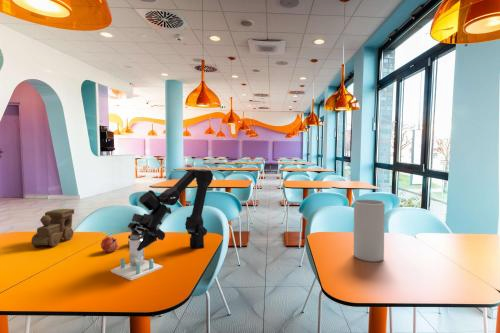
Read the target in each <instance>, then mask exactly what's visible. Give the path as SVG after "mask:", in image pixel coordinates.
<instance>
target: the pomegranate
mask: <svg viewBox="0 0 500 333" xmlns="http://www.w3.org/2000/svg"><path fill="white" fill-rule="evenodd" d="M118 247H119V242H118V240H117V239H116V238H115V237H110V236H107V237H105V238H103V239H102V240H101V243H100V248H101V249H102V251H103V252H105V253H112V252H114V251H116V250H117V249H118Z"/></svg>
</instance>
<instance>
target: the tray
mask: <svg viewBox="0 0 500 333" xmlns="http://www.w3.org/2000/svg"><path fill="white" fill-rule="evenodd" d="M125 260H126V258H125V257H123V258H120V266H118V267H115V268H113V269H111V270H110V272H111V273H112V274H114V275H118V276H119V277H122V278H123V279H126V280H128V281H133V280H136V279H139V278H141V277H143V276H146V275H148V274H150V273H153V272H156V271H157V270H160V269H163V265H161V264H158V263H155V262H154V259H153V258H149V260H146V259H144V264H143V265H142V266H140V264H136V267H131V266H130V262H129V263H126V261H125Z"/></svg>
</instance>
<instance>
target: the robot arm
mask: <svg viewBox="0 0 500 333" xmlns="http://www.w3.org/2000/svg"><path fill="white" fill-rule="evenodd" d="M213 178H214V173H213V172H212V170H208V169H200V170H198V169H188V170H187V172H186V173H185V174H184V175H183V176H181V178H180V179H178V181H177V182H176V183H175V184H174V185H173V186H172V187H171V186H170V187H169V188H167V189H165V190H164V191H162V192H161V193H160V194H159V195H157V194H156V192H155V191H153V190H152V189H151V190H150V189H149V190H148V191H147V192H145V193H143V194H142V195H141V196H139V199H138V201H139V203H140V204H141V205H142V206H143V207H144V208H145V209H146V210H148V211H151V212H150V213H143V214H138V213H133V216H132V219H131V222H129V223H128V225H127V228H128V229H130V230H131V232H132V233H131V234H137V233H140V234H143V232H144V236H142V237H144V238H143V240H142V241H141V243H140V245H139V246H138V248H137V250H138V251H140V250H142V249H143V248H144V249H145V248H147V247H148V246H150V245H151V244H153V243H155V242H157V241H158V240H159V241H163V240H164V239H165V237H166V233H165V232H164V231H163V230H162V229H161V228H160V227H158V226H159V225H160V226H162V224H163V222H162V220H163V219H164V218H165V216H166V214H168V215H171V214H172V210H171V207H169V206H175V205H176V204H177V203H178V201H179V200H180V197H181V194H182V192H183V191H184V190H185V189H187V188H188V186H190V184H191V183H192V182H193V181H194V180H195V182H196V184H197V188H196V191H195V197H194V202H193V207H192V212H191V214H190V215H189V216H186V218H185V219H186V220H185V223H184V225H185V229H186V231H187V234H188V235H190V237H189V247H190V249H204V248H205V244H204V243H205V238H204V237H205V236H206V235H207V233H208V229H207V228H206V227H205V226H204V219H203V215H202V214H203V210H204V204H205V201H206V200H205V199H206V195H207V191H208V187H209V186H210V185H211V184H212V181H213ZM146 246H147V247H146Z"/></svg>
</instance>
